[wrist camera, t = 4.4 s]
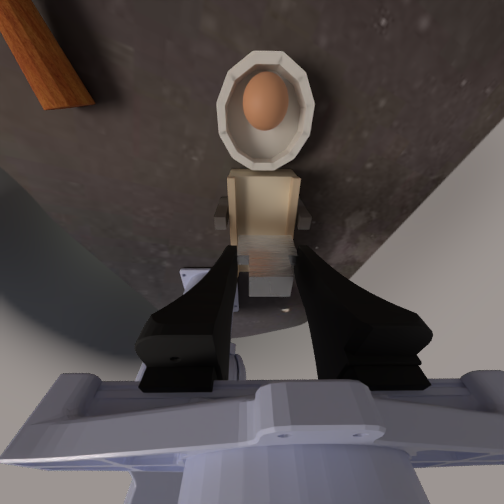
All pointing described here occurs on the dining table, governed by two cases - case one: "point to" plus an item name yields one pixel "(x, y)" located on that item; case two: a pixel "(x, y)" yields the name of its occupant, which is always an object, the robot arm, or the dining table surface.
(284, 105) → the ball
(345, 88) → the dining table surface
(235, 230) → the wooden box
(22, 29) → the kendama
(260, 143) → the white round shallow bowl
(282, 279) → the gate
